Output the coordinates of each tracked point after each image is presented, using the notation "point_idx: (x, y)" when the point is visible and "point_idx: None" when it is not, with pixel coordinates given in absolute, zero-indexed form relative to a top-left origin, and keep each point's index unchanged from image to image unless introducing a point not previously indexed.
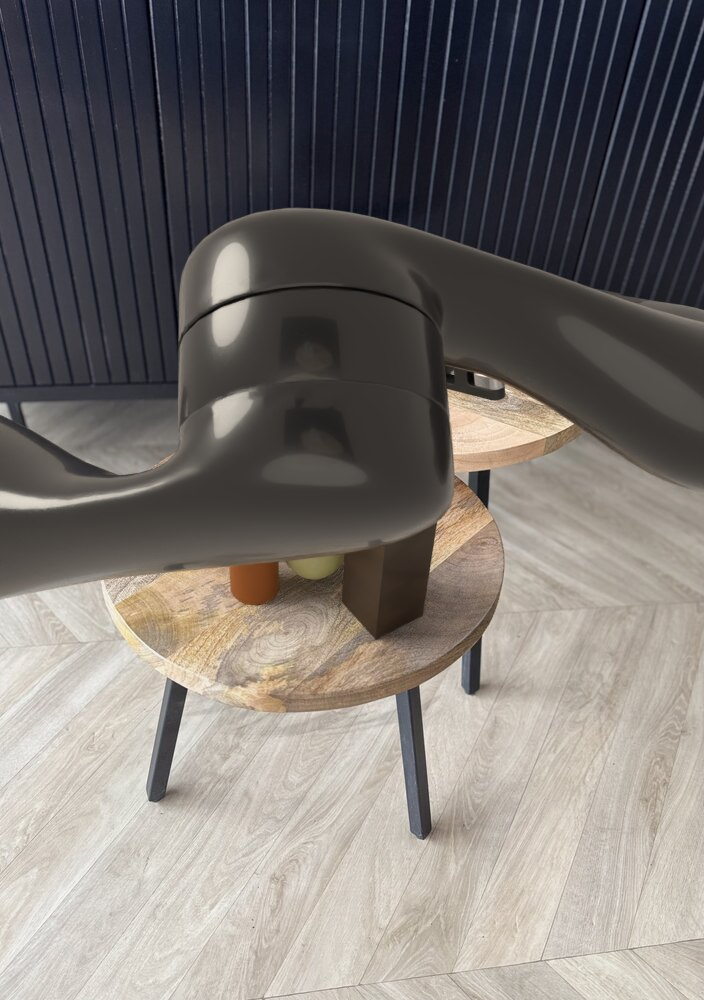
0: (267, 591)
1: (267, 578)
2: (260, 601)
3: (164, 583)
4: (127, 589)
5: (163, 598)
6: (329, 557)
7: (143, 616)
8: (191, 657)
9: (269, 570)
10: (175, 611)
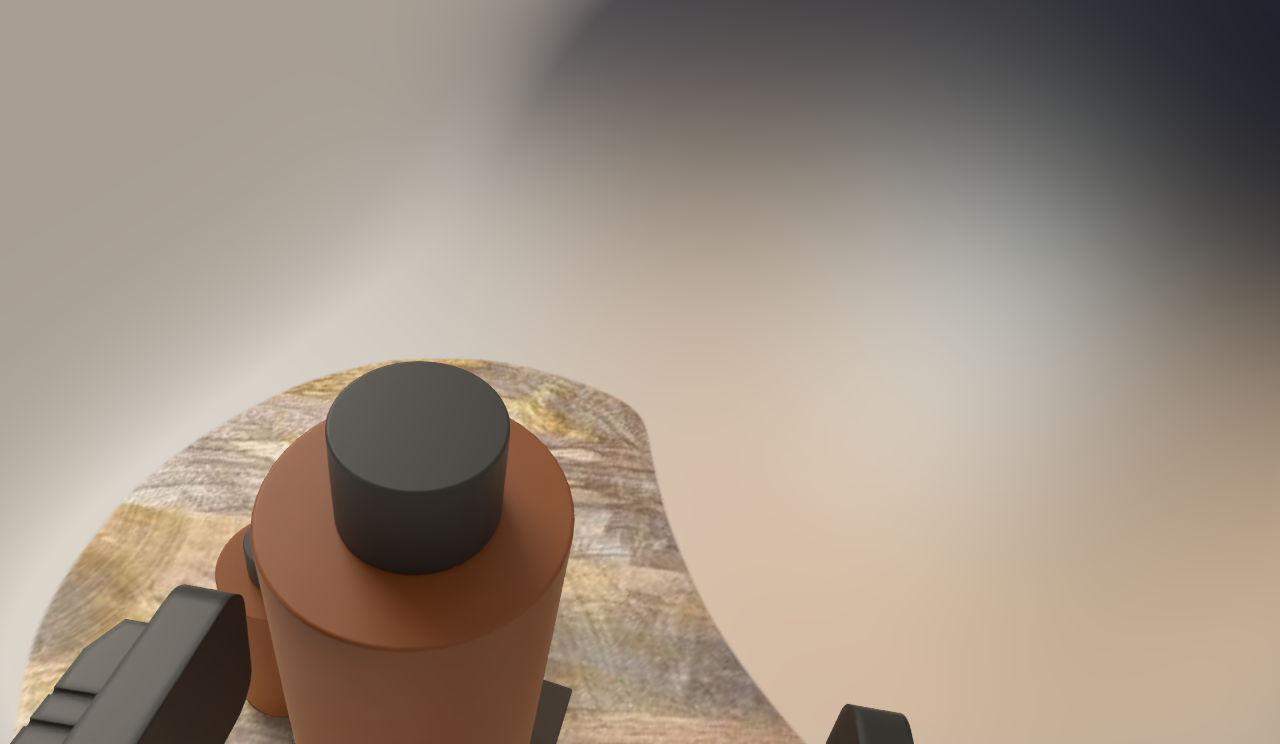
0: (268, 703)
1: (265, 687)
2: (255, 705)
3: (211, 530)
4: (163, 492)
5: (173, 553)
6: None
7: (110, 556)
8: (42, 697)
9: (269, 679)
10: (151, 592)
